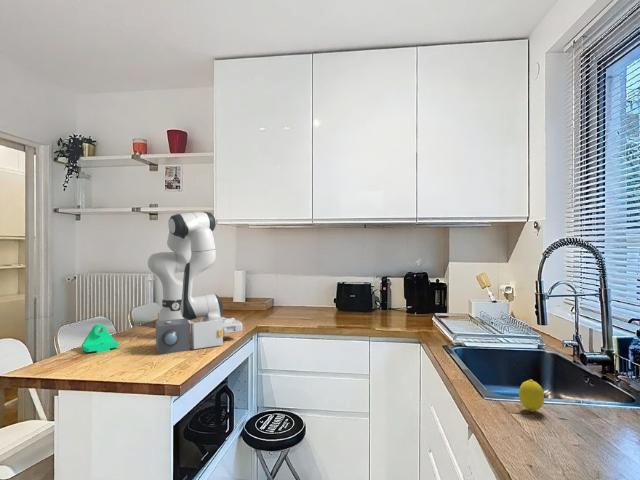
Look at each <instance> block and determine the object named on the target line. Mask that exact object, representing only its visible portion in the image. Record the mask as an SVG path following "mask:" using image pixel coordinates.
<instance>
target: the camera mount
mask: <svg viewBox="0 0 640 480" xmlns="http://www.w3.org/2000/svg"><path fill="white" fill-rule="evenodd" d="M99 329H100V330H99ZM98 330H99V331H98ZM119 344H120V342H118V341H117V340H115V339H114V338H113V336H112V335H111V333H110V332H109V331H108V330H107V328H106V326H105V325H103V324H101V323H96V324H94V325H93V326H92V327H91V330H90V331H89V332H88V334H87V336H86V337H85V339H84V341H83V342H82V344H81V350H83V351H84V352H85V353H91V352H95V353H97V354H98V353H105V352H109V351H110V350H111V349H115V348H119V346H120V345H119Z"/></svg>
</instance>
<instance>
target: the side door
mask: <svg viewBox="0 0 640 480" xmlns="http://www.w3.org/2000/svg"><path fill="white" fill-rule="evenodd" d="M223 345H224V334H223V320H215V321H206V322H200V321H198V322H193V323H191V325H190V350H196V349H198V350H199V349H203V348H210V347H217V346H223Z"/></svg>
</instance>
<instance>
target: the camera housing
mask: <svg viewBox="0 0 640 480" xmlns="http://www.w3.org/2000/svg"><path fill="white" fill-rule="evenodd" d="M155 325H156V327H155V350H156V352H157V355H164V354H172V353H180V352H181V353H182V352H191V325H190V323H189V321H188V320H187V319H186V318H184V319H173V320H162V321H158V320H155Z"/></svg>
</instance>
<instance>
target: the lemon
mask: <svg viewBox="0 0 640 480" xmlns="http://www.w3.org/2000/svg"><path fill="white" fill-rule="evenodd" d="M518 398H519V401H520V403H521V404H522V406H523V407H524V408H525V409H527V410H528V411H529V412H531V413H533V412H535V411H538V410H539V409H541V408H542V407H543V405H544V403H545V394H544V390H543V388H542V386H541V385H540V384H539V383H538V382H537V381H534V380H533V379H528V380H526V381H523V382H522V383H521V385H520V387H519V391H518Z"/></svg>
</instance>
